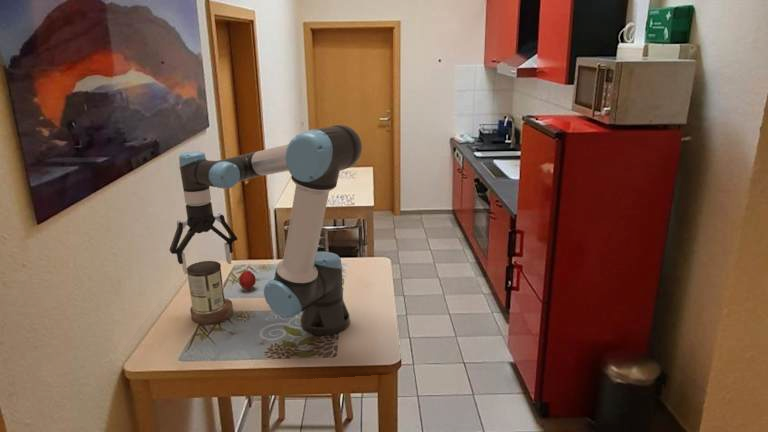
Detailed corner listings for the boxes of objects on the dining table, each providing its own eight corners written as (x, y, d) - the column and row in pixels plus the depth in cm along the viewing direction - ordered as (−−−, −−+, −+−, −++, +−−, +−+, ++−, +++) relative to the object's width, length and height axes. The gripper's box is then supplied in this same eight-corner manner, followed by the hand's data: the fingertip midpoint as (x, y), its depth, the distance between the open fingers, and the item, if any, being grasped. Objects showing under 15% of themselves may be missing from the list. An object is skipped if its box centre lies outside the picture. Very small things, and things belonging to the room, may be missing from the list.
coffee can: (200, 299, 177) (195, 260, 173) (230, 300, 176) (225, 261, 171) (186, 313, 167) (180, 272, 163) (217, 315, 166) (212, 273, 162)
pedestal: (238, 317, 171) (237, 308, 170) (197, 328, 164) (195, 319, 163) (226, 302, 181) (225, 294, 180) (187, 312, 175) (186, 303, 174)
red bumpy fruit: (242, 286, 193) (240, 265, 191) (258, 286, 193) (256, 265, 191) (238, 293, 188) (235, 272, 185) (254, 293, 188) (252, 272, 185)
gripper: (235, 193, 171) (242, 255, 177) (152, 207, 158) (163, 273, 164) (242, 198, 165) (249, 262, 171) (157, 212, 152) (168, 281, 158)
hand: (207, 267), depth 168 cm, fingers open, 13 cm apart
